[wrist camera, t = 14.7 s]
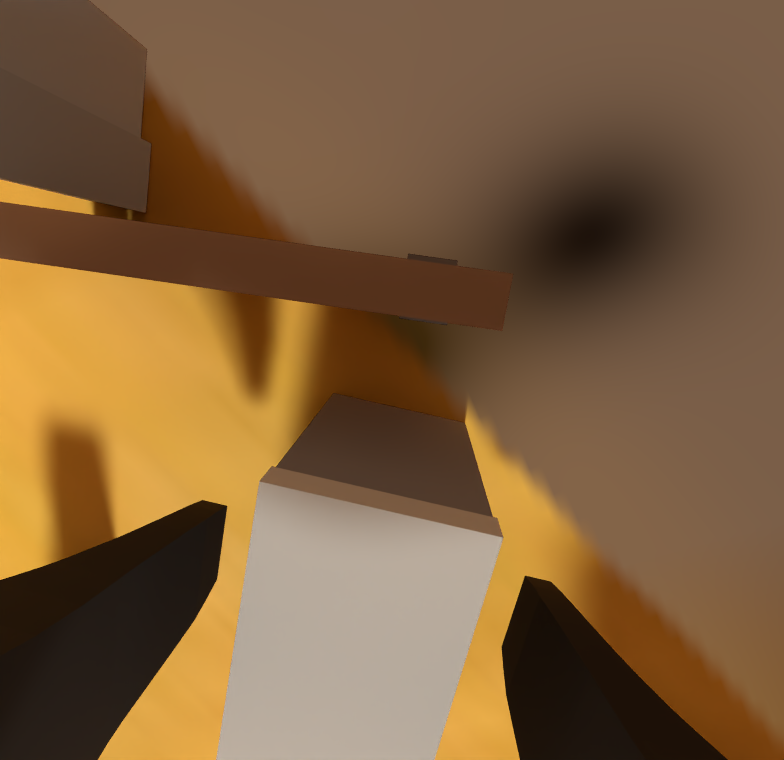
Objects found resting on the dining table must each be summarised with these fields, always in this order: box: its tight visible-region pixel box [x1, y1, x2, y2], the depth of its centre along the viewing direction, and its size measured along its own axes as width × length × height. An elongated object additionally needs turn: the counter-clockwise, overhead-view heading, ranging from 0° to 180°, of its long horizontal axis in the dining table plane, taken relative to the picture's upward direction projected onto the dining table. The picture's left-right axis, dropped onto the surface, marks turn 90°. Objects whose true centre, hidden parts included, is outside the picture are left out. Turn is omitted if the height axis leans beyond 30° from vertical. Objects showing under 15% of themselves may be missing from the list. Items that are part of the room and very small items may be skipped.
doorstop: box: [216, 393, 503, 760], centre depth 11 cm, size 4×8×6 cm, turn 168°
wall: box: [0, 0, 151, 213], centre depth 12 cm, size 2×30×5 cm, turn 168°
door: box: [0, 202, 513, 331], centre depth 10 cm, size 1×11×5 cm, turn 82°
